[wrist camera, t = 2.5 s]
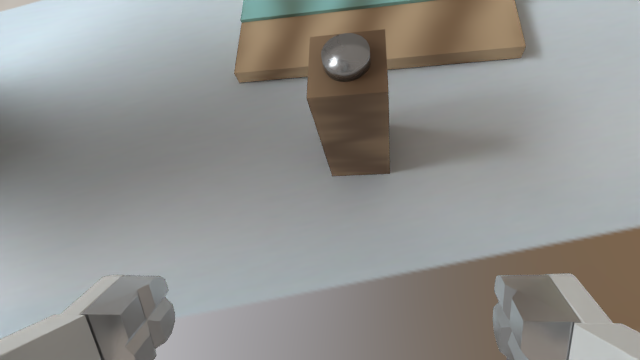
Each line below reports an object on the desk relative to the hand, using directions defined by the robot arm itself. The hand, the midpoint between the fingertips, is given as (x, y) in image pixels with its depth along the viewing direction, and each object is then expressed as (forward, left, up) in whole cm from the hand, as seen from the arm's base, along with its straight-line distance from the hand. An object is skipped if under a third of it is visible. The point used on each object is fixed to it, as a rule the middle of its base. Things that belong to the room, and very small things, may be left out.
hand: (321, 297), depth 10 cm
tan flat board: (+1, +27, -15) cm, 31 cm away
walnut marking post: (0, +12, -15) cm, 19 cm away
